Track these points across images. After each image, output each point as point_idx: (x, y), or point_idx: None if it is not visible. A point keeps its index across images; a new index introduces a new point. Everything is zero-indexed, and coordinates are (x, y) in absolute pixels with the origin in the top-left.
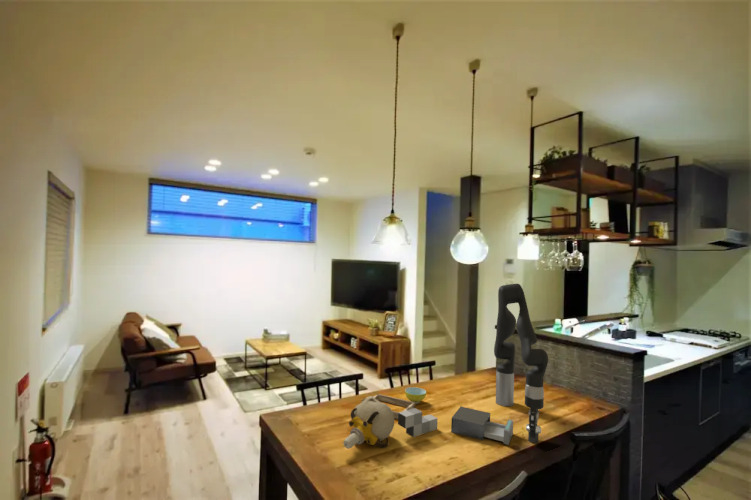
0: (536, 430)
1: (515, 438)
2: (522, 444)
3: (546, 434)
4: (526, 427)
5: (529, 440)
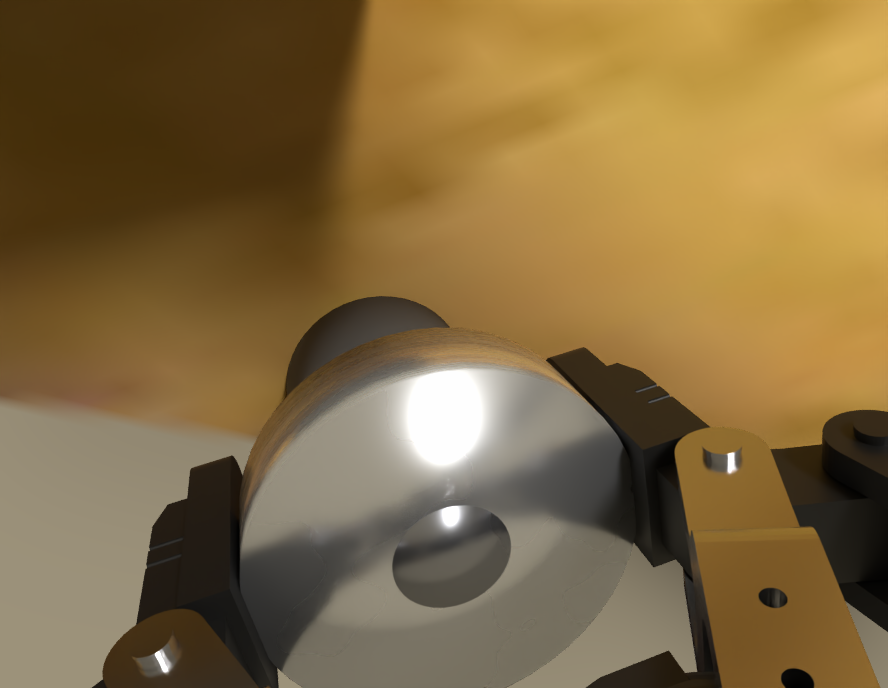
0: (300, 674)
1: (192, 65)
2: (37, 299)
3: (772, 418)
4: (316, 409)
5: (301, 351)
